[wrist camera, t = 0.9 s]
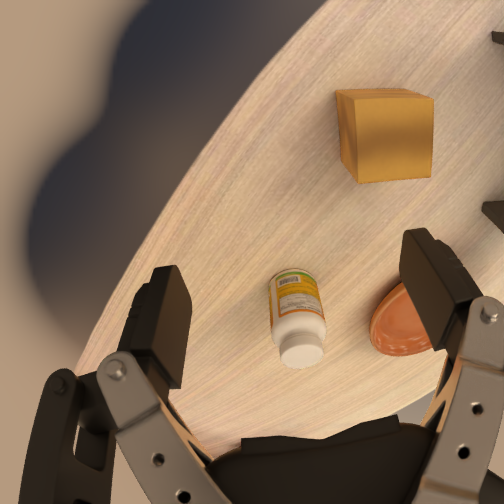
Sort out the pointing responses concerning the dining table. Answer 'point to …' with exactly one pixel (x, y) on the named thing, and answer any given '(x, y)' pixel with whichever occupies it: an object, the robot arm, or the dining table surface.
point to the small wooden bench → (496, 211)
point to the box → (385, 134)
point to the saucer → (398, 326)
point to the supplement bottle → (297, 318)
